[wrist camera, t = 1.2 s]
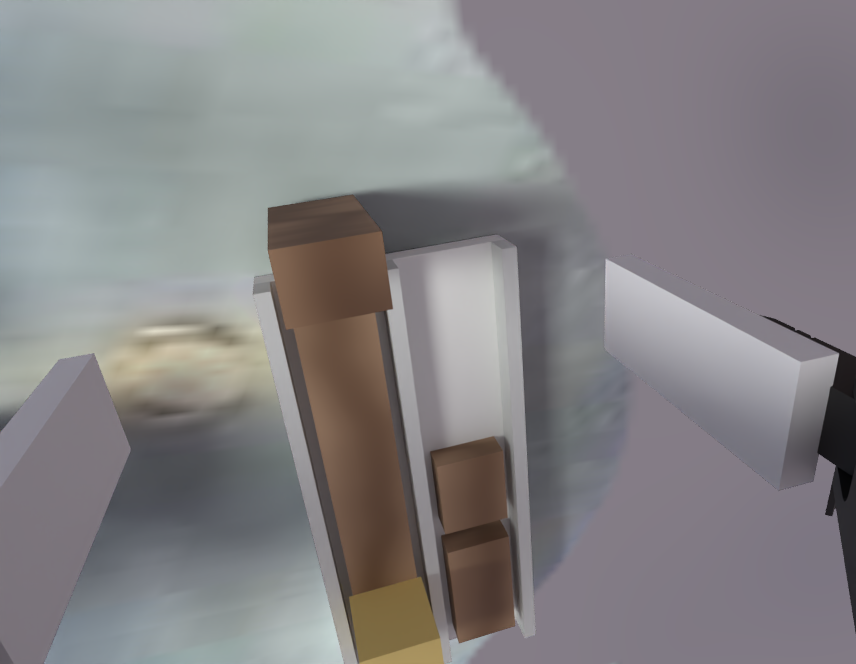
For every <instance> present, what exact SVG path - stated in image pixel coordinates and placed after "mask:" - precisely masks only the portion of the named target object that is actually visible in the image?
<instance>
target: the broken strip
mask: <svg viewBox="0 0 856 664" xmlns="http://www.w3.org/2000/svg"><path fill="white" fill-rule="evenodd" d="M430 455H431V463H432V471H433V478H434V486H435V494H436V501H437V509H438V517H439V519H440V522H441V525H442V527H443V530H444V532H445V534H444V535H441V540H442V547H443V555H444V563H445V570H446V578H447V586H448V593H449V601H450V609H451V616H452V624H453V627H454V630H455V632H456V635H457V638H458V641H459V643H462V642H465V641H468V640H471V639H475V638H478V637H481V636H484V635H488V634H491V633H494V632H497V631H501V630H504V629H507V628H510V627H514V626H515V616H514V601H513V587H512V572H511V558H510V543H509V535H508V533H507V532H506V530H505V528H504V526H503V524H502V522H501V519H505V518H508V514H507V499H506V484H505V470H504V455H503V450H502V448H501V447H500V445H499V443H498V442H497V440H496V439H495V437H494V436H492V437H488V438H484V439H479V440H475V441H471V442H467V443H463V444H459V445H455V446H451V447H447V448H442V449H438V450H434V451H430Z"/></svg>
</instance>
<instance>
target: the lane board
mask: <svg viewBox="0 0 856 664" xmlns="http://www.w3.org/2000/svg"><path fill="white" fill-rule="evenodd" d="M385 256H386V263H387V270H388V276H389V283H390V290H391V297H392V304H393V309H391V310H386V311H381V312H376V313H375V315H376V321H377V327H378V334H379V340H380V346H381V353H382V359H383V365H384V372H385V378H386V384H387V390H388V397H389V403H390V409H391V416H392V422H393V428H394V435H395V441H396V447H397V454H398V460H399V466H400V473H401V479H402V485H403V492H404V498H405V504H406V511H407V517H408V523H409V529H410V536H411V542H412V548H413V555H414V561H415V567H416V574H417V578H418V577H421V578H422V581H423V584H424V588H425V591H426V594H427V597H428V600H429V604H430V607H431V610H432V613H433V616H434V620H435V623H436V626H437V629H438V632H439V636H440V640H441V647H442V653H443V660H444V664H445V663H448V662H451V661H452V658H451V650H450V643H449V640H451V639H455V638H457V635H456V632H455V630H454V627H453V624H452V616H451V609H450V601H449V593H448V586H447V578H446V570H445V563H444V555H443V547H442V540H441V535H444V534H445V532H444V530H443V527H442V525H441V522H440V519H439V517H438V509H437V501H436V494H435V486H434V478H433V471H432V463H431V455H430V451H434V450H438V449H442V448H447V447H451V446H455V445H459V444H463V443H467V442H471V441H475V440H479V439H484V438H488V437H492V436H494V437H495V439H496V440H497V442H498V443H499V445H500V447H501V448H502V450H503V455H504V470H505V484H506V499H507V514H508V518H505V519H501V522H502V524H503V526H504V528H505V530H506V532H507V533H508V535H509V543H510V558H511V572H512V587H513V601H514V616H515V620H517V622H518V625H519V627H520V629H521V631H522V633H523V635H524V637H525V638H528V637H531V636H534V635H536V631H535V612H534V611H535V610H534V590H533V569H532V548H531V527H530V507H529V486H528V465H527V445H526V424H525V403H524V382H523V362H522V341H521V320H520V300H519V279H518V258H517V246H515V245H514V244H512V243H510V242H509V241H507V240H506V239H504V238H503V237H501V236H499V235H498V234H496V235H490V236H484V237H479V238H473V239H467V240H462V241H456V242H450V243H445V244H439V245H433V246H428V247H422V248H416V249H411V250H405V251H399V252H394V253H388V254H385ZM253 297H254V301H255V305H256V309H257V313H258V318H259V322H260V326H261V330H262V334H263V338H264V342H265V346H266V350H267V354H268V358H269V362H270V366H271V370H272V374H273V378H274V382H275V386H276V390H277V394H278V398H279V402H280V406H281V410H282V414H283V418H284V423H285V427H286V431H287V435H288V439H289V443H290V447H291V451H292V455H293V459H294V463H295V467H296V471H297V475H298V479H299V483H300V487H301V491H302V495H303V499H304V503H305V507H306V511H307V515H308V519H309V523H310V527H311V532H312V536H313V540H314V544H315V548H316V552H317V556H318V560H319V564H320V568H321V572H322V576H323V580H324V584H325V588H326V592H327V596H328V600H329V604H330V608H331V612H332V616H333V620H334V624H335V628H336V632H337V636H338V641H339V645H340V649H341V653H342V657H343V661H344V664H359V658H358V651H357V645H356V639H355V632H354V626H353V620H352V613H351V607H350V601H349V597H350V596H353V594H352V589H351V585H350V580H349V576H348V571H347V567H346V562H345V558H344V553H343V549H342V544H341V540H340V535H339V531H338V526H337V522H336V517H335V513H334V508H333V504H332V499H331V495H330V490H329V486H328V481H327V477H326V472H325V468H324V464H323V459H322V455H321V450H320V446H319V441H318V437H317V432H316V428H315V423H314V419H313V414H312V410H311V405H310V401H309V396H308V392H307V387H306V383H305V378H304V374H303V369H302V365H301V360H300V356H299V351H298V347H297V342H296V338H295V333H294V329H289V330H286V328H285V324H284V319H283V315H282V310H281V306H280V302H279V297H278V293H277V289H276V284H275V280H274V275H273V274H269V275H264V276H258V277H254V286H253Z"/></svg>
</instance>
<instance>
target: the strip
mask: <svg viewBox="0 0 856 664" xmlns="http://www.w3.org/2000/svg"><path fill="white" fill-rule="evenodd" d="M268 254H269V258H270V262H271V267H272V271H273V275H274V280H275V284H276V289H277V293H278V297H279V302H280V306H281V310H282V315H283V319H284V324H285V328H286V330H289V329H294V333H295V338H296V342H297V347H298V351H299V356H300V360H301V365H302V369H303V374H304V378H305V383H306V387H307V392H308V396H309V401H310V405H311V410H312V414H313V419H314V423H315V428H316V432H317V437H318V441H319V446H320V450H321V455H322V459H323V464H324V468H325V472H326V477H327V481H328V486H329V490H330V495H331V499H332V504H333V508H334V513H335V517H336V522H337V526H338V531H339V535H340V540H341V544H342V549H343V553H344V558H345V562H346V567H347V571H348V576H349V580H350V585H351V589H352V594H353V596H354V595H357V594H361V593H364V592H368V591H372V590H375V589H379V588H382V587H386V586H389V585H393V584H396V583H400V582H403V581H407V580H410V579H414V578H417V574H416V567H415V561H414V555H413V548H412V542H411V536H410V529H409V523H408V517H407V511H406V504H405V498H404V492H403V485H402V479H401V473H400V466H399V460H398V454H397V447H396V441H395V435H394V428H393V422H392V416H391V409H390V403H389V397H388V390H387V384H386V378H385V372H384V365H383V359H382V353H381V346H380V340H379V334H378V327H377V321H376V315H375V313H376V312H381V311H386V310H391V309H393V304H392V297H391V290H390V283H389V276H388V270H387V263H386V256H385V249H384V242H383V235H382V231H381V229H380V228H379V227H378V226H377V224H376V223H375V222H374V221H373V219H372V218H371V217H370V216H369V214H368V213H367V212H366V210H365V209H364V208H363V207H362V205H361V204H360V203H359V202H358V200H357V199H356V198H355V197H354V195H347V196H341V197H335V198H328V199H322V200H315V201H309V202H303V203H296V204H290V205H283V206H277V207H271V208H268Z"/></svg>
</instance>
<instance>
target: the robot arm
mask: <svg viewBox="0 0 856 664" xmlns="http://www.w3.org/2000/svg"><path fill="white" fill-rule="evenodd" d="M604 349H605V350H606V351H607V352H608V353H610V354H611V355H612V356H613V357H615V358H616V359H617V360H618V361H619V362H621V363H622V364H623V365H624V366H626V367H627V368H628V369H629V370H631V371H632V372H633V373H634V374H635V375H637V376H638V377H639V378H640V379H642V380H643V381H644V382H645V383H647V384H648V385H649V386H650V387H651V388H653V389H654V390H655V391H656V392H658V393H659V394H660V395H661V396H663V397H664V398H665V399H666V400H667V401H669V402H670V403H671V404H672V405H674V406H675V407H676V408H678V409H679V410H680V411H681V412H682V413H684V414H685V415H686V416H687V417H688V418H690V419H691V420H692V421H693V422H695V423H696V424H697V425H698V426H699V427H701V428H702V429H703V430H705V431H706V432H707V433H709V435H711V436H712V437H713V438H714V439H716V440H717V441H718V442H719V443H720V444H722V445H723V446H724V447H725V448H727V449H728V450H729V451H730V452H732V453H733V454H734V455H735V456H736V457H738V458H739V459H740V460H742V461H743V462H744V463H745V464H746V465H748V466H749V467H750V468H751V469H752V470H754V471H755V472H756V473H758V474H759V475H760V476H761V477H762V478H763V479H765V480H766V481H767V482H768V483H770V484H771V485H772V486H773V487H775V488H776V489H777V490H778V491H780V490H783V489H786V488H791V487H794V486H798V485H802V484H805V483H809V482H813V480H814V475H815V470H816V465H817V460H818V456H819V454H820V455H822V456H823V457H824V458H826V459H827V460H829V461H830V462H832V463H833V464H835V465H836V468H835V472H834V477H833V481H832V486H831V490H830V495H829V500H828V505H827V509H826V513H825V515H829V516H832V515H833V512H834V509H835V508H836V511H837V516H838V523H839V530H840V536H841V542H842V549H843V555H844V562H845V568H846V574H847V581H848V587H849V593H850V599H851V605H852V612H853V618H854V625H855V632H856V357H855V356H853V355H850V354H848V353H846V352H844V351H842V350H840V349H838V348H836V347H833V346H831V345H829V344H827V343H825V342H823V341H821V340H819V339H817V338H811V336H810V335H808V334H806V333H804V332H801V331H800V330H797V331H795V328H793V327H791V326H789V325H787V324H785V323H783V322H781V321H778V320H776V319H773V318H769V317H766V316H761V315H758V314H756V313H754V312H752V311H750V310H747V309H745V308H743V307H741V306H739V305H737V304H735V303H733V302H731V301H729V300H727V299H725V298H722V297H720V296H718V295H716V294H714V293H712V292H710V291H708V290H706V289H704V288H701V287H699V286H697V285H695V284H693V283H691V282H689V281H687V280H685V279H683V278H681V277H678V276H676V275H674V274H672V273H670V272H668V271H666V270H664V269H662V268H660V267H657V266H656V265H653V264H651V263H649V262H647V261H645V260H643V259H641V258H639V257H637V256H635V255H633V254H628V255H623V256H617V257H612V258H606V273H605V329H604ZM130 451H131V448H130V445H129V443H128V440H127V438H126V435H125V433H124V430H123V427H122V425H121V422H120V420H119V417H118V414H117V412H116V409H115V407H114V404H113V401H112V399H111V396H110V394H109V391H108V388H107V386H106V383H105V381H104V378H103V375H102V373H101V370H100V368H99V365H98V362H97V360H96V357H95V355H94V353H92V354H87V355H81V356H76V357H71V358H65V359H60V360H58V362H57V363H56V364H55V365H54V367H53V368H52V369H51V370H50V371H49V373H48V374H47V375H46V376H45V378H44V379H43V380H42V381H41V383H40V384H39V385H38V386H37V388H36V389H35V390H34V391H33V393H32V394H31V395H30V396H29V398H28V399H27V400H26V401H25V403H24V404H23V405H22V406H21V407H20V409H19V410H18V411H17V412H16V414H15V415H14V416H13V417H12V419H11V420H10V421H9V422H8V424H7V425H6V426H5V427H4V429H3V430H2V431H1V432H0V664H44V662H45V659H46V657H47V654H48V652H49V649H50V647H51V644H52V642H53V640H54V637H55V635H56V632H57V630H58V627H59V625H60V622H61V620H62V618H63V615H64V613H65V610H66V608H67V605H68V603H69V600H70V598H71V596H72V593H73V591H74V588H75V586H76V583H77V581H78V578H79V576H80V573H81V571H82V569H83V566H84V564H85V561H86V559H87V556H88V554H89V551H90V549H91V547H92V544H93V542H94V539H95V537H96V534H97V532H98V529H99V527H100V525H101V522H102V520H103V517H104V515H105V512H106V510H107V507H108V505H109V502H110V500H111V498H112V495H113V493H114V490H115V488H116V485H117V483H118V480H119V478H120V476H121V473H122V471H123V468H124V466H125V463H126V461H127V458H128V456H129V454H130Z"/></svg>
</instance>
